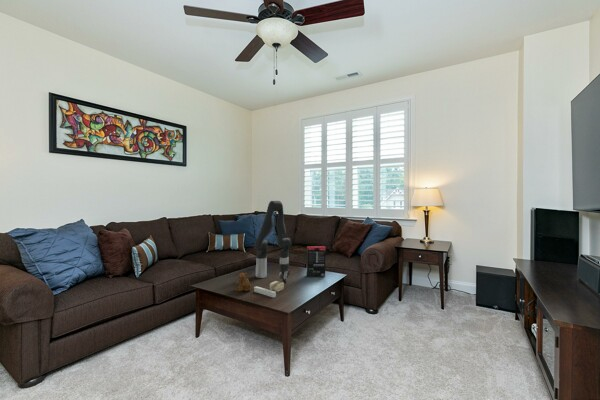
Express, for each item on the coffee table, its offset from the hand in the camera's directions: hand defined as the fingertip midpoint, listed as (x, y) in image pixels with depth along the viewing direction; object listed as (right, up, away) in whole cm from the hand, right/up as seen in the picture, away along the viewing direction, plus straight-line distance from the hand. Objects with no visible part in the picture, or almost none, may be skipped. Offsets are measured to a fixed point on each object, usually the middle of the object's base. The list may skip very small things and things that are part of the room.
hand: (284, 283), depth 227 cm
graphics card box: (+28, -2, +28) cm, 39 cm away
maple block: (-5, -2, -7) cm, 9 cm away
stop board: (-14, -3, -18) cm, 22 cm away
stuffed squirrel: (-30, -3, -9) cm, 32 cm away
